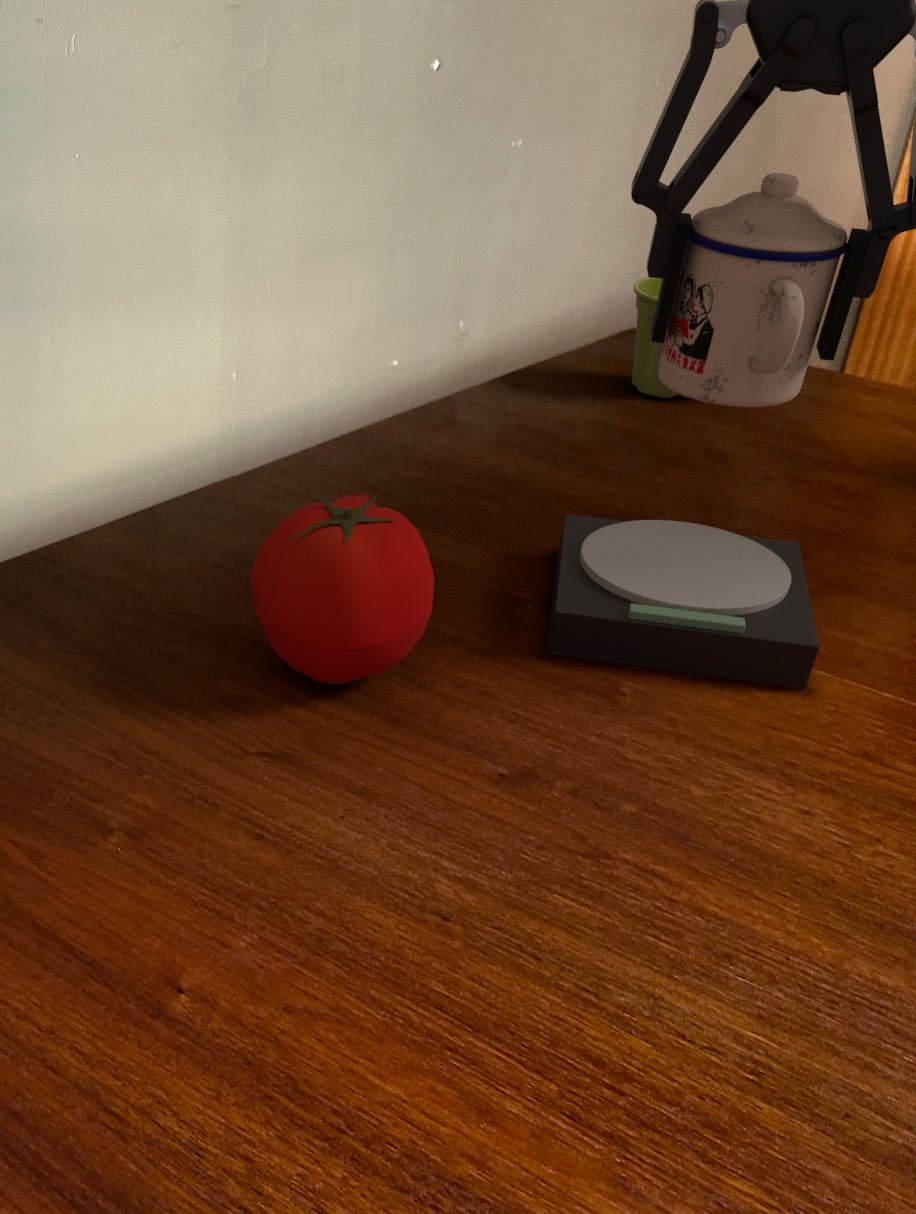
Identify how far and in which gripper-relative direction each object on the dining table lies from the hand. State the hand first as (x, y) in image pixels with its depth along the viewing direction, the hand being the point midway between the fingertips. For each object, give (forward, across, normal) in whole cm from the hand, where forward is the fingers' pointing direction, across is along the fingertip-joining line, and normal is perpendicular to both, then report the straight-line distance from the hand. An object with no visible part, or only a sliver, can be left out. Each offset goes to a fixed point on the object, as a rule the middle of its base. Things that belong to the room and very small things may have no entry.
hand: (740, 344), depth 86 cm
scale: (+17, 0, -1) cm, 17 cm away
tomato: (+18, -21, -14) cm, 31 cm away
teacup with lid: (+3, 0, 0) cm, 3 cm away
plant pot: (+17, 0, +47) cm, 50 cm away
